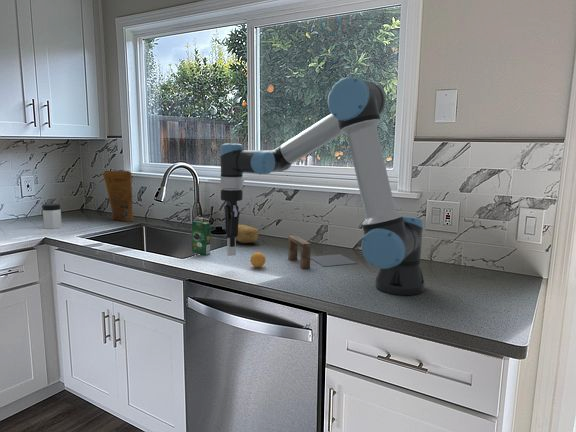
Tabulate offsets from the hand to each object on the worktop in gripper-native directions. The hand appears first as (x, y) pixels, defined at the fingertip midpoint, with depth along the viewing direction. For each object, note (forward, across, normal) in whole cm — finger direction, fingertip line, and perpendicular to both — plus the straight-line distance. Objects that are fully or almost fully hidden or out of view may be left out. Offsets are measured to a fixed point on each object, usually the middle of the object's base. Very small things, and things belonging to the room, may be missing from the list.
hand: (231, 254), depth 158 cm
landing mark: (+5, 0, -40) cm, 40 cm away
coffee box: (+6, +26, +6) cm, 27 cm away
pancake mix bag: (+7, +114, +36) cm, 120 cm away
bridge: (+5, 0, -26) cm, 26 cm away
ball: (+3, 0, -10) cm, 10 cm away
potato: (+6, +39, -16) cm, 42 cm away
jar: (+7, +102, +69) cm, 123 cm away
